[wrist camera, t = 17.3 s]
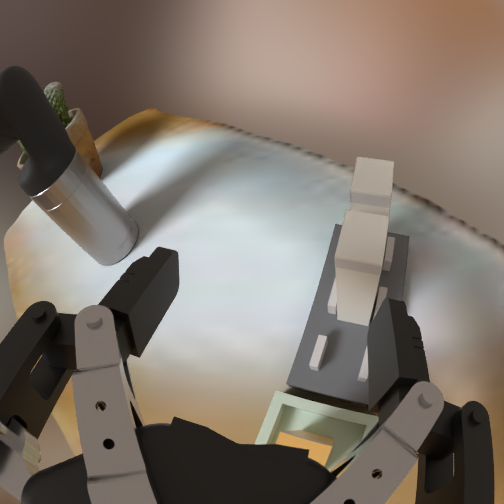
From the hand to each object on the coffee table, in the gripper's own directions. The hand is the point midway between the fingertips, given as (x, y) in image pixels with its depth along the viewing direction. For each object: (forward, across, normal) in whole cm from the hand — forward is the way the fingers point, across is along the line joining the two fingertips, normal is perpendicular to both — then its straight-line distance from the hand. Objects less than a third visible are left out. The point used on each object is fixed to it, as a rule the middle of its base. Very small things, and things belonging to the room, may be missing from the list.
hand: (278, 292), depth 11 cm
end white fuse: (+20, +9, -10) cm, 24 cm away
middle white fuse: (+15, +8, -12) cm, 21 cm away
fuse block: (+15, +9, -14) cm, 23 cm away
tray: (+2, +7, -21) cm, 22 cm away
